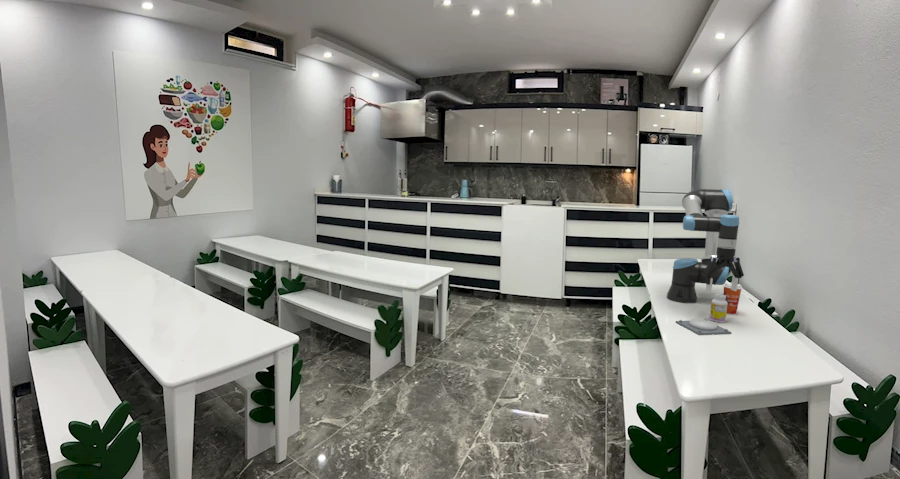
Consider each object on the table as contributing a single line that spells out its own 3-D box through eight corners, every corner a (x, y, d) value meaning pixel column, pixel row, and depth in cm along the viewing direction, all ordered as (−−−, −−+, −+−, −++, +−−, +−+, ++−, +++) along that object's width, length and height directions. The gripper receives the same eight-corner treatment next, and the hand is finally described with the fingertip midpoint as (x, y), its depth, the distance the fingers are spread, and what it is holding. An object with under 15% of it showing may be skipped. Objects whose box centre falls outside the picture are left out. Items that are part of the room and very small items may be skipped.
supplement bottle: (710, 317, 219) (713, 292, 217) (725, 320, 215) (729, 294, 213) (708, 320, 214) (711, 295, 211) (724, 323, 210) (728, 297, 208)
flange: (675, 322, 210) (676, 318, 210) (705, 321, 212) (706, 317, 212) (698, 335, 194) (699, 330, 194) (731, 333, 197) (731, 328, 196)
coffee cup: (721, 313, 225) (725, 285, 223) (718, 308, 233) (722, 281, 230) (740, 315, 222) (744, 287, 220) (737, 311, 230) (740, 283, 227)
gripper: (708, 248, 203) (703, 293, 206) (756, 248, 207) (750, 292, 210) (697, 246, 210) (692, 289, 214) (743, 246, 214) (738, 288, 217)
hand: (721, 290), depth 212 cm, fingers open, 13 cm apart
